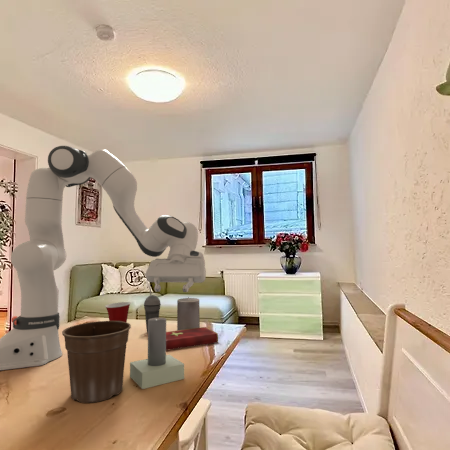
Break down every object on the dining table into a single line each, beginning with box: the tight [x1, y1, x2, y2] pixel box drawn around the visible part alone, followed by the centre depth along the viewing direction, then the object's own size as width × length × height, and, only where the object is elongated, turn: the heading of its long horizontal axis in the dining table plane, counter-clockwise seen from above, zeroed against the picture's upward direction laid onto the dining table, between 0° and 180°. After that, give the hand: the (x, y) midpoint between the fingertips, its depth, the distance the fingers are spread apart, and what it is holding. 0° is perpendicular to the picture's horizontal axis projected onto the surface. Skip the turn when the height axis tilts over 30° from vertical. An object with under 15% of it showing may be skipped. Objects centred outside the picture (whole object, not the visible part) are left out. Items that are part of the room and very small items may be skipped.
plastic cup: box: [104, 301, 131, 323], centre depth 147 cm, size 11×11×12 cm
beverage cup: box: [143, 284, 161, 334], centre depth 145 cm, size 7×7×20 cm
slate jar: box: [147, 317, 167, 366], centre depth 94 cm, size 5×5×12 cm
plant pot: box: [62, 320, 132, 404], centre depth 84 cm, size 16×16×16 cm
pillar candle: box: [176, 296, 201, 331], centre depth 145 cm, size 10×10×15 cm
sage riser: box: [129, 354, 185, 390], centre depth 93 cm, size 12×10×4 cm
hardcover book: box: [166, 326, 219, 351], centre depth 128 cm, size 12×21×4 cm, turn 117°
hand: (170, 290), depth 107 cm, fingers open, 8 cm apart
